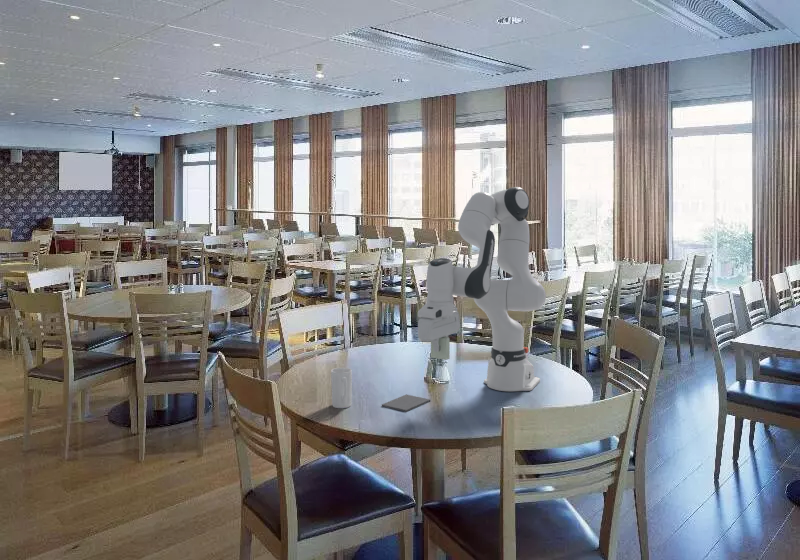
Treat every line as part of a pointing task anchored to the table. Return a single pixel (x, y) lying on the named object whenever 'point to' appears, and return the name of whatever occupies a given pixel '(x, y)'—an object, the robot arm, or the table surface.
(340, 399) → the mug
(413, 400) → the mat
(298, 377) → the table surface
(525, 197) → the robot arm
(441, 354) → the block
